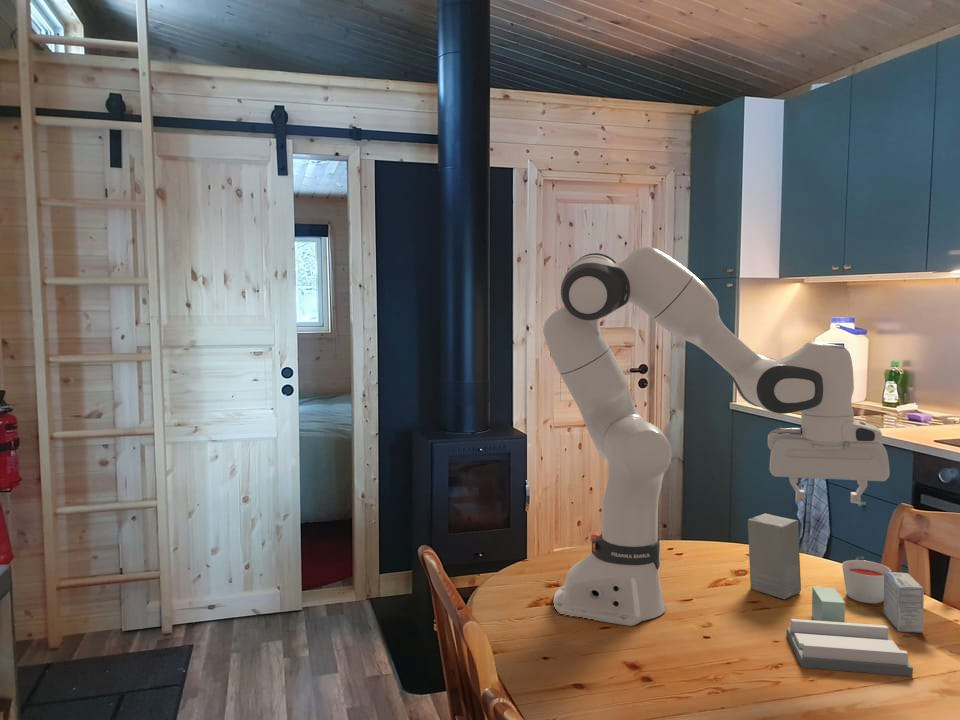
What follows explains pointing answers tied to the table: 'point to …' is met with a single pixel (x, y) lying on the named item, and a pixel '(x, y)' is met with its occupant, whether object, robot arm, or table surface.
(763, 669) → the table surface
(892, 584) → the medicine box
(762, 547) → the skincare box
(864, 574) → the candle
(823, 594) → the rail module
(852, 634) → the rail board
